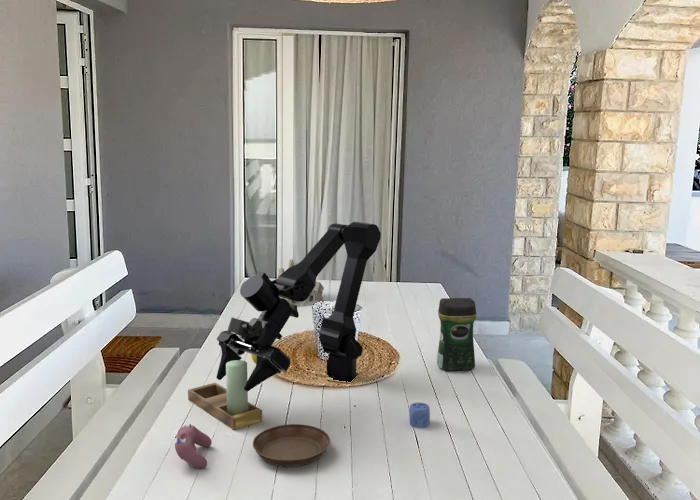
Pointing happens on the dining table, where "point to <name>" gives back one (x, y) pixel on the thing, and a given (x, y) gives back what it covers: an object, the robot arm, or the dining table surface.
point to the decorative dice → (419, 414)
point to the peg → (236, 387)
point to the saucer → (291, 444)
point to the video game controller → (192, 445)
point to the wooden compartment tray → (222, 406)
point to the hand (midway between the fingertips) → (231, 384)
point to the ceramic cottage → (313, 297)
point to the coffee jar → (456, 334)
